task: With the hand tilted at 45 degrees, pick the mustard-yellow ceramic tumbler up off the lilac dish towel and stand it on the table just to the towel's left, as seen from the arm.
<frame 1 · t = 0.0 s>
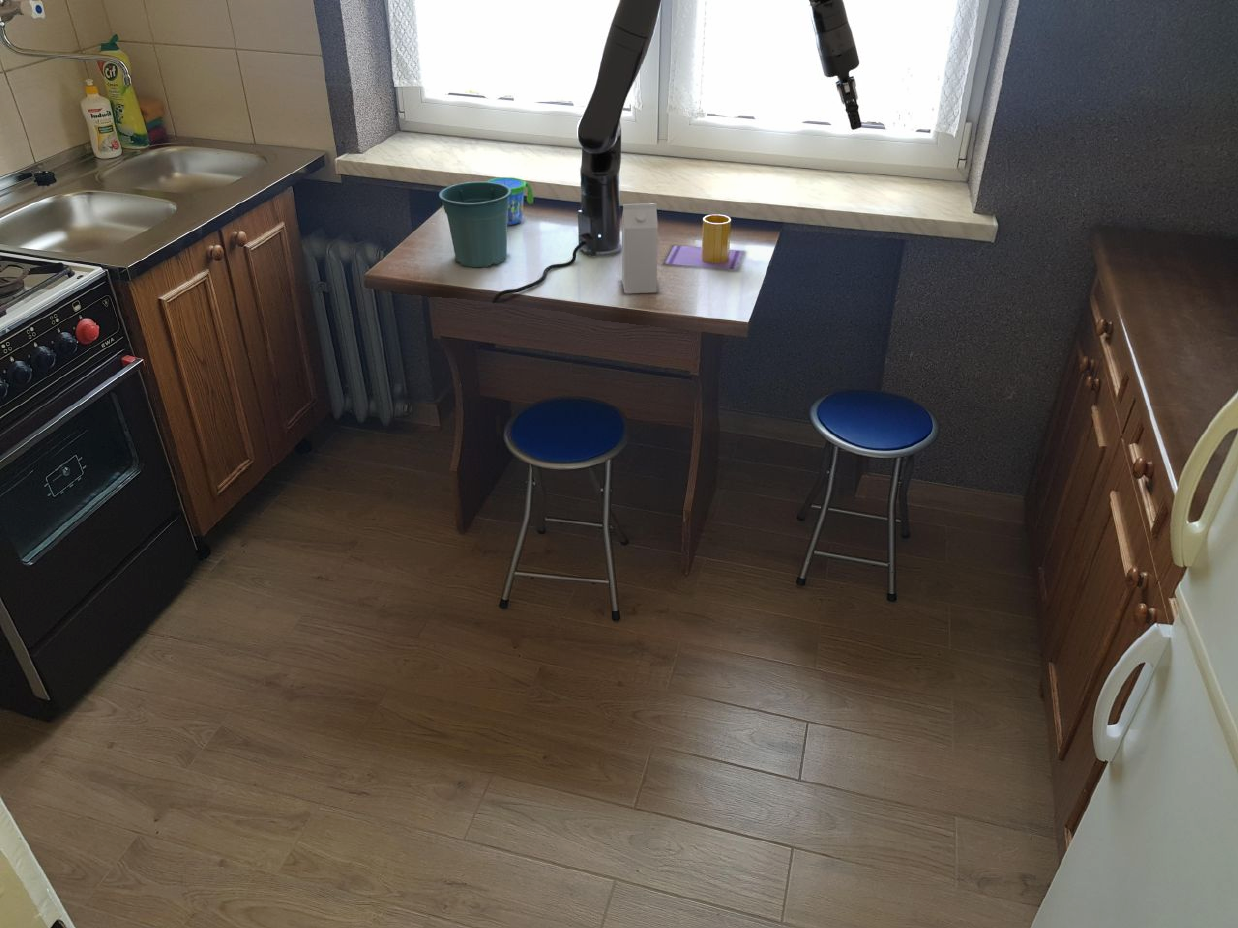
hand: (855, 123, 209), 31 cm above the table, tool tilted 20°, fingers open, 8 cm apart
flower pot: (481, 259, 228), on the table
snack cup: (507, 222, 249), on the table
cloth: (704, 258, 228), on the table
milk carton: (638, 288, 214), on the table
tumbler: (715, 258, 227), resting on cloth
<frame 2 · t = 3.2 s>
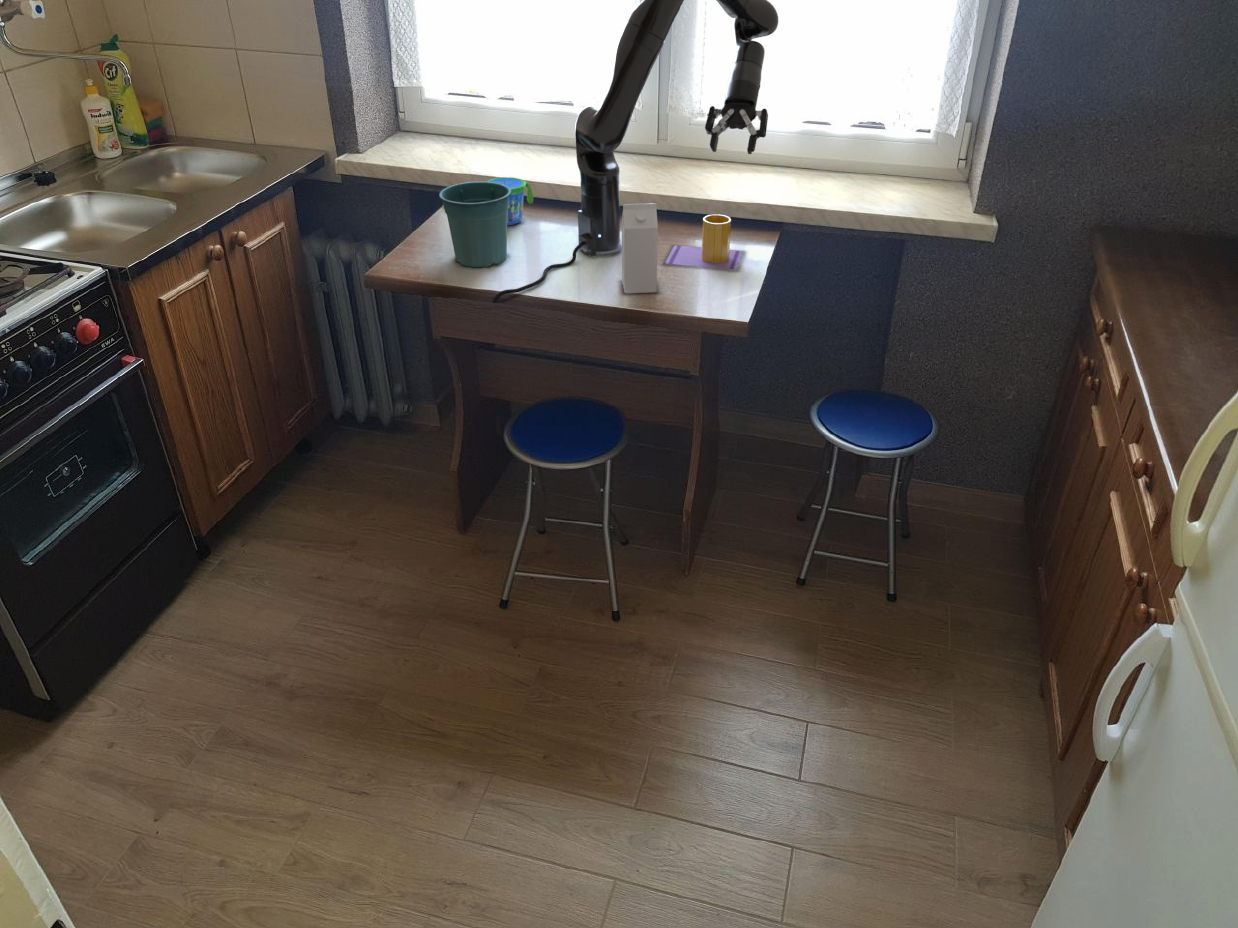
hand: (731, 151, 224), 22 cm above the table, tool tilted 40°, fingers open, 8 cm apart
nothing on the table moved.
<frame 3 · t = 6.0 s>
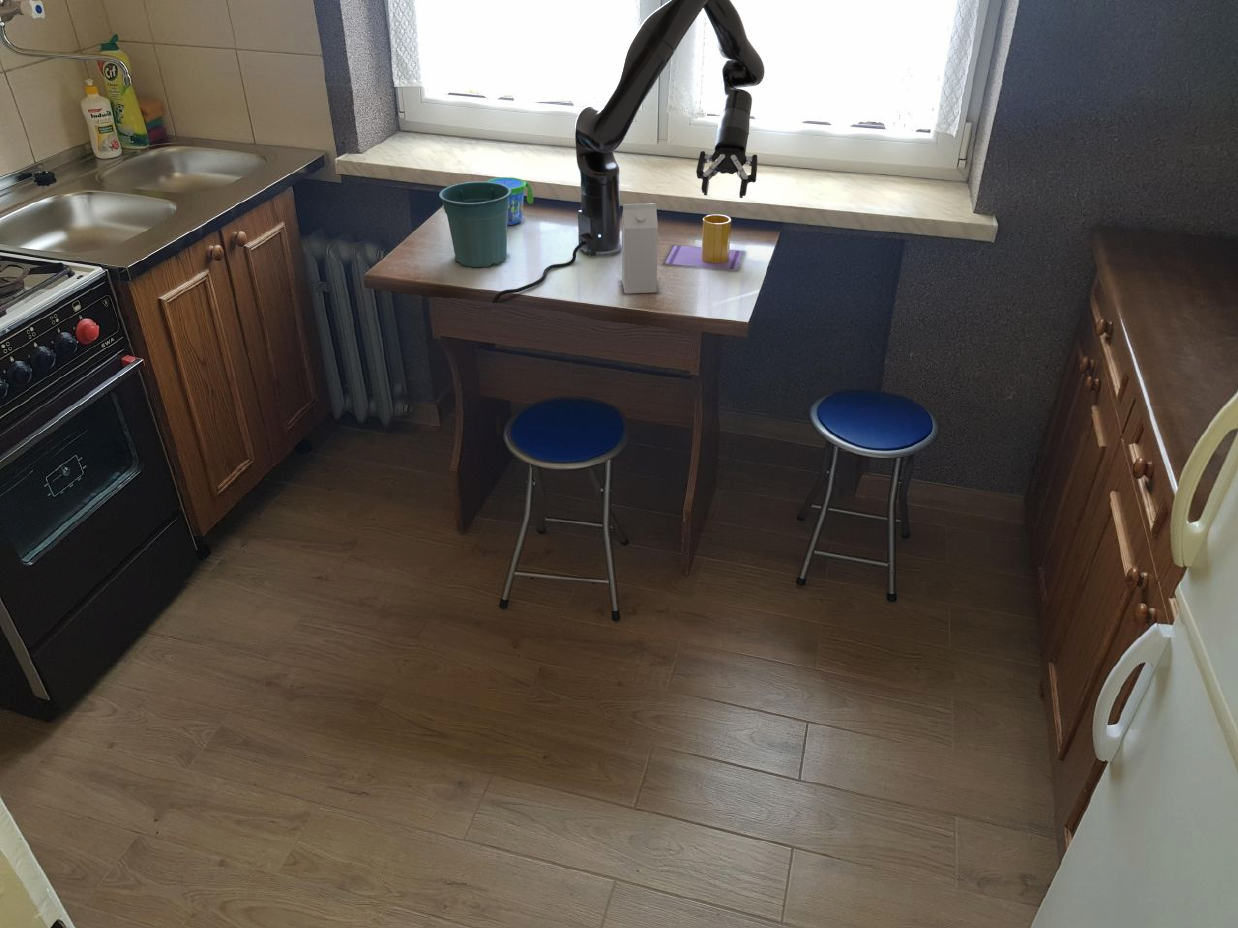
hand: (723, 195, 227), 13 cm above the table, tool tilted 45°, fingers open, 8 cm apart
nothing on the table moved.
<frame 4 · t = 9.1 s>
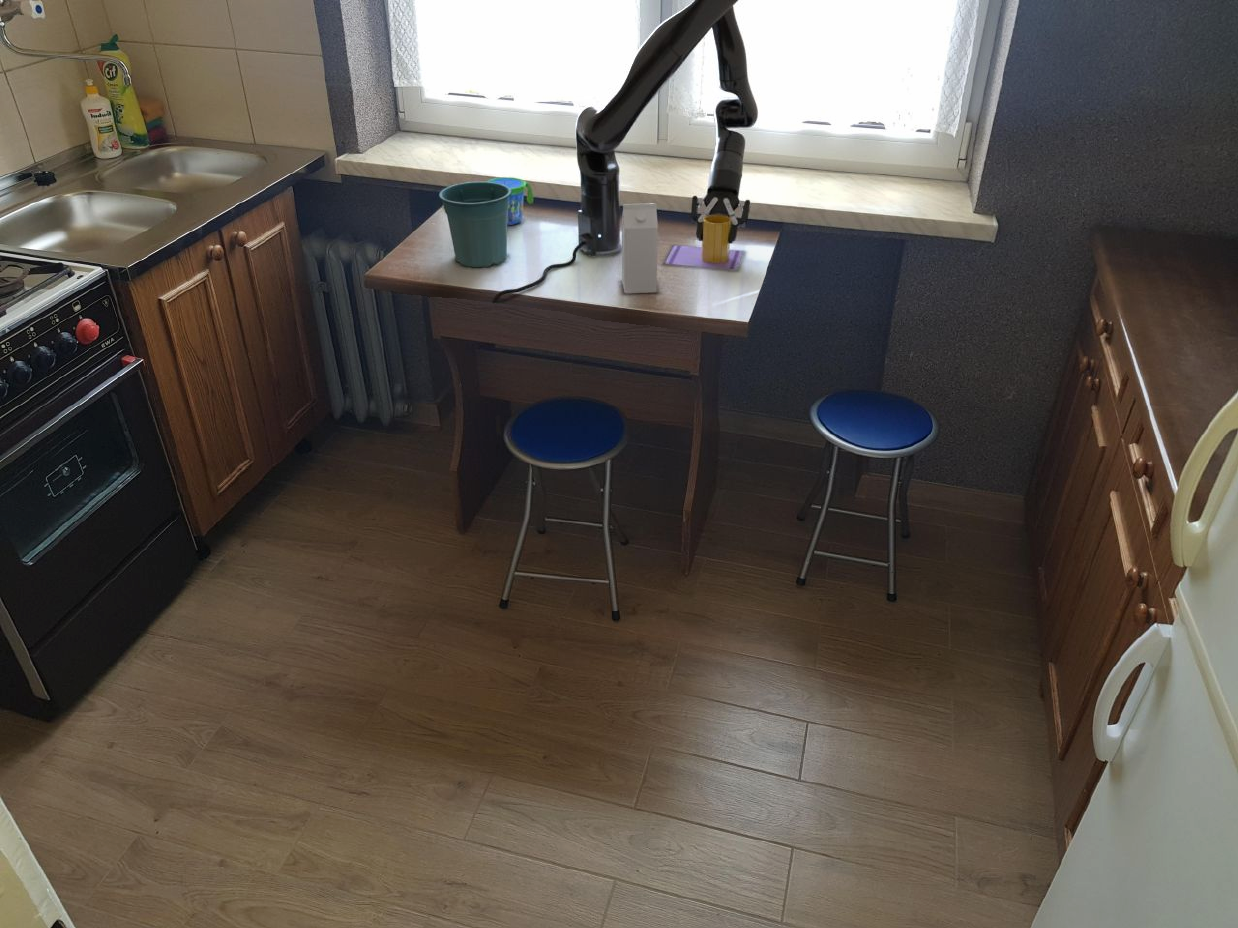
hand: (715, 240, 223), 5 cm above the table, tool tilted 45°, fingers closed on tumbler, 6 cm apart
tumbler: (715, 258, 227), resting on cloth, touching gripper
everything else where it was.
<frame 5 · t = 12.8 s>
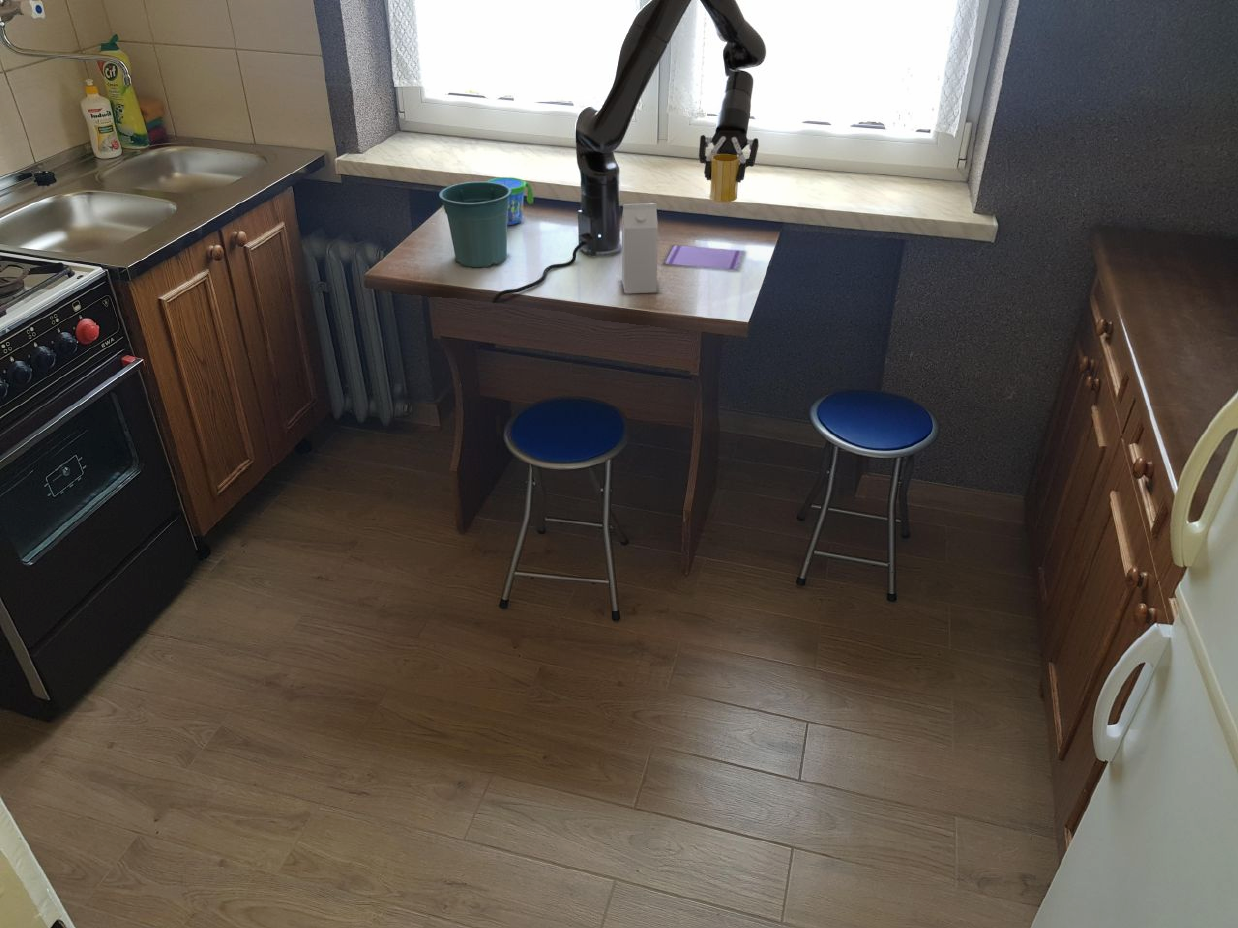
hand: (723, 179, 223), 17 cm above the table, tool tilted 45°, fingers closed on tumbler, 6 cm apart
tumbler: (723, 198, 227), point 12 cm above the table, touching gripper
everything else where it was.
when the fingers open (5 cm above the table, at t = 17.0 s): tumbler stays where it is, on the table.
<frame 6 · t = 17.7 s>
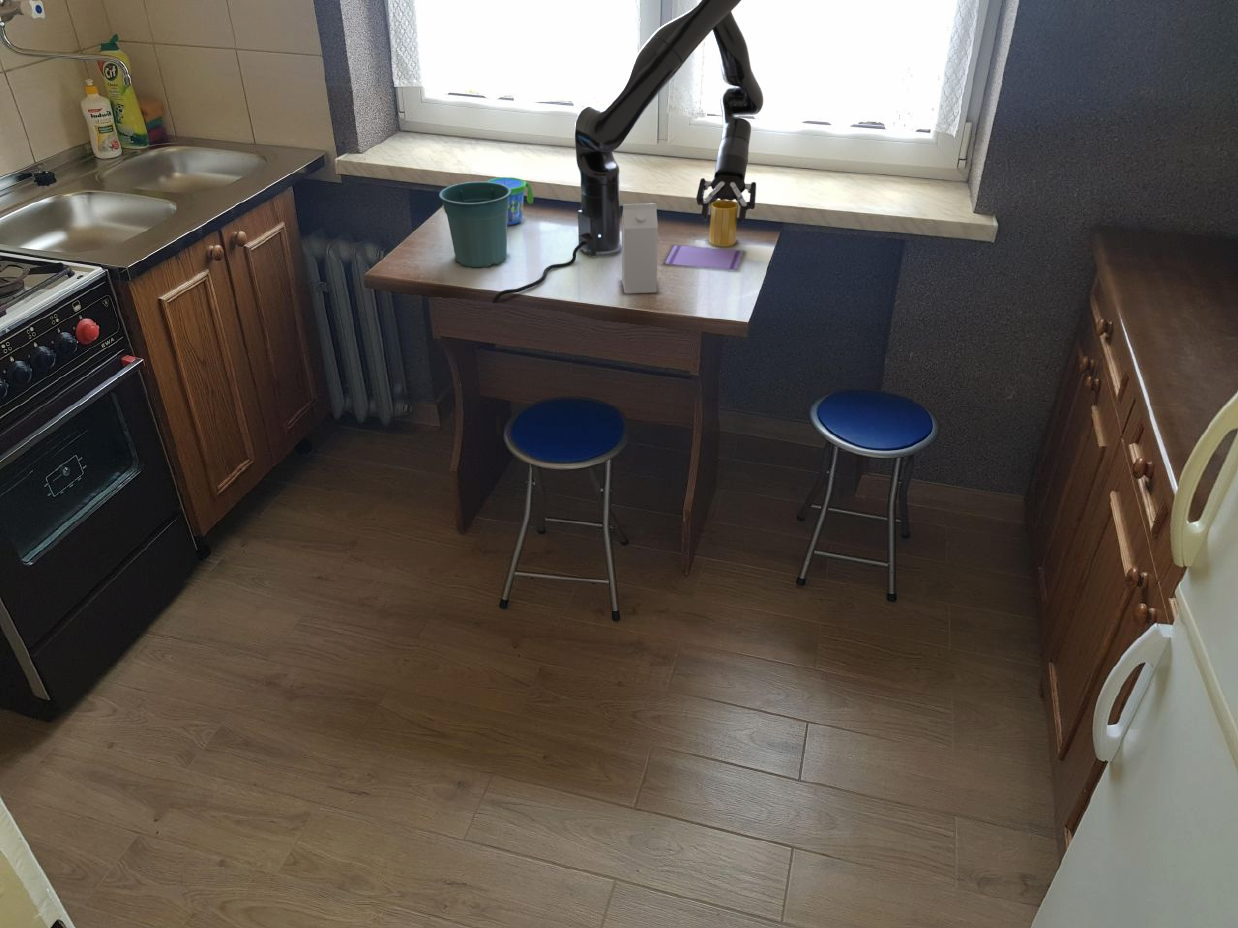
hand: (722, 221, 232), 6 cm above the table, tool tilted 45°, fingers open, 8 cm apart
tumbler: (722, 242, 236), on the table
everything else where it was.
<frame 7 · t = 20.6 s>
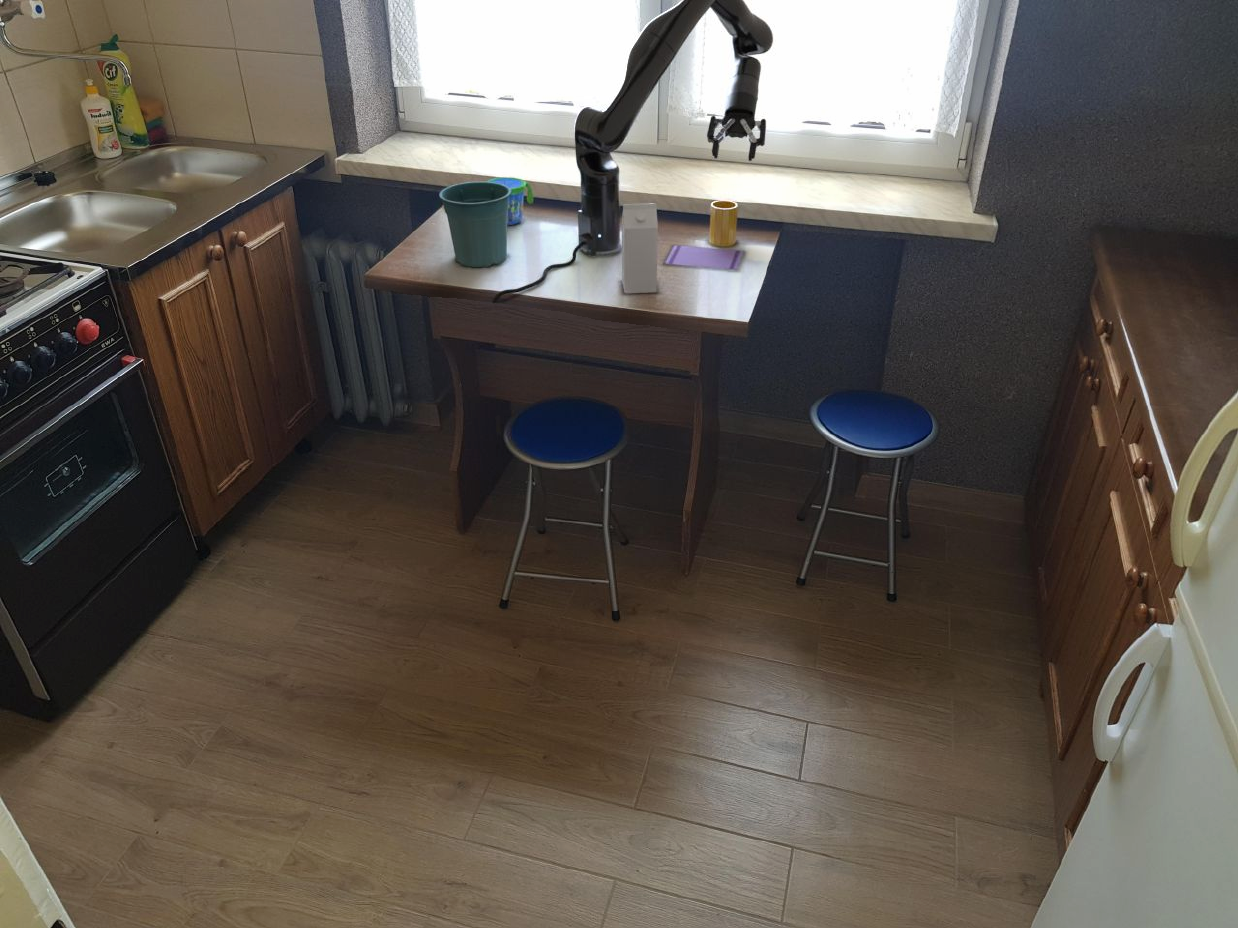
hand: (732, 158, 236), 17 cm above the table, tool tilted 45°, fingers open, 8 cm apart
nothing on the table moved.
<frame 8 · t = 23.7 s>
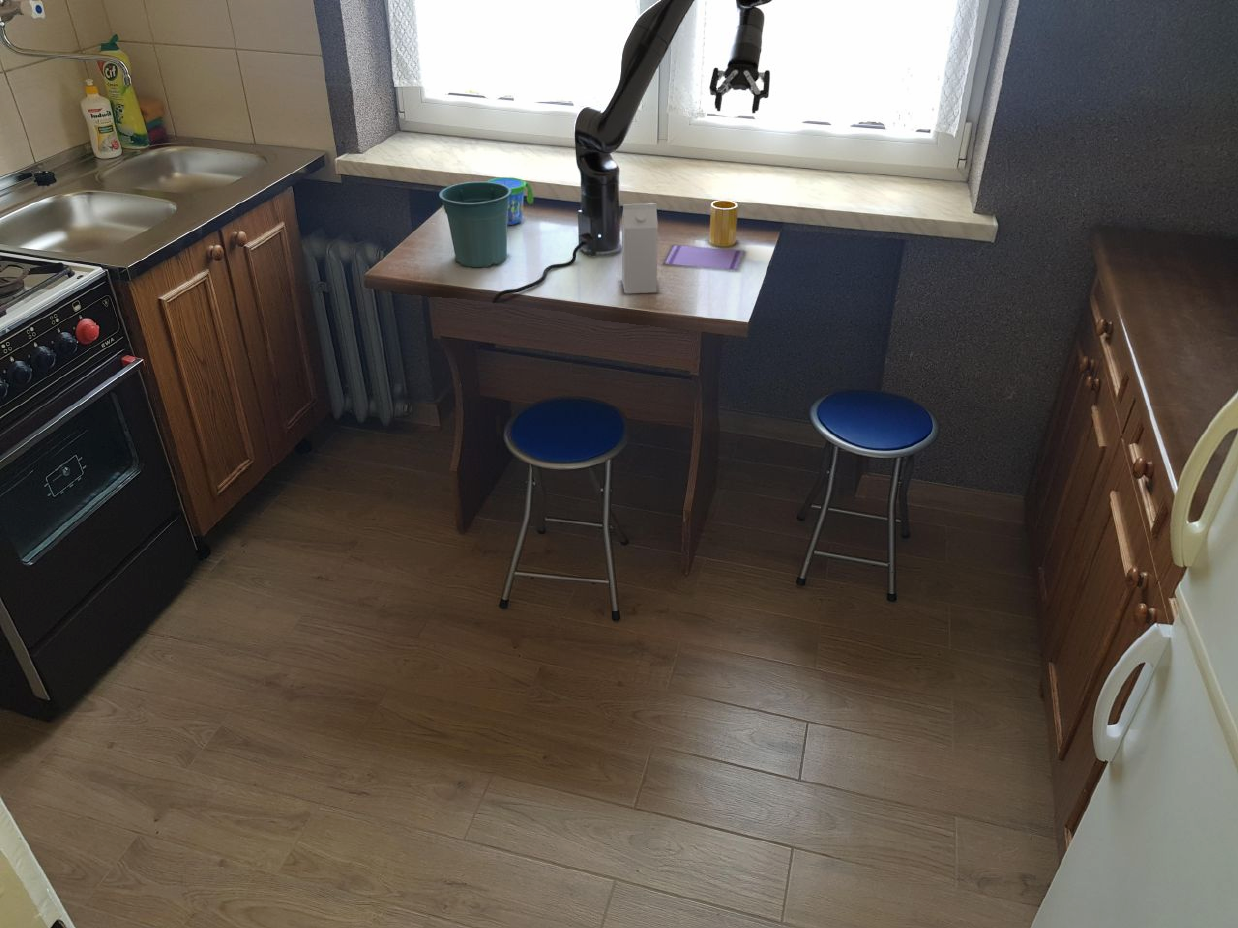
hand: (735, 110, 230), 29 cm above the table, tool tilted 45°, fingers open, 8 cm apart
nothing on the table moved.
at the end: tumbler 0.1 cm from the target spot on the table beside the cloth, on the table; tumbler touching table; tumbler tilted 0° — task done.
